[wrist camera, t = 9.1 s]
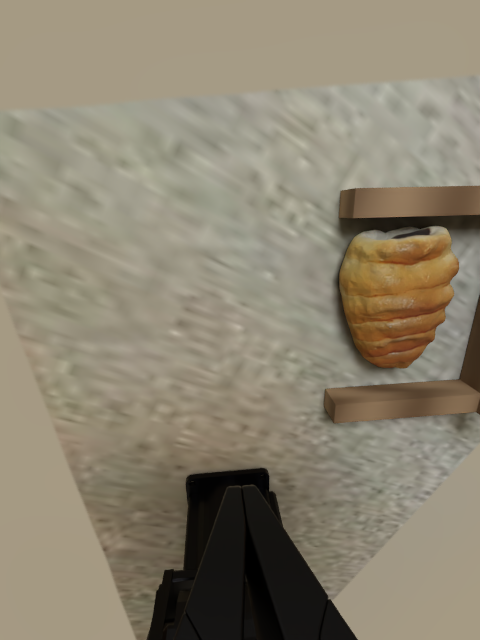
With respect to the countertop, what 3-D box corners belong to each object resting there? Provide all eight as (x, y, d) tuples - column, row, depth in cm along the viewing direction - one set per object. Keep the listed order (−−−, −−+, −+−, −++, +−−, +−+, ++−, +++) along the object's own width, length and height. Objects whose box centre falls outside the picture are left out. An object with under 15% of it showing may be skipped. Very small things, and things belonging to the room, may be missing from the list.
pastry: (425, 350, 23) (465, 377, 19) (336, 365, 23) (359, 394, 19) (435, 218, 20) (485, 219, 16) (331, 234, 19) (358, 239, 16)
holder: (324, 406, 23) (352, 455, 19) (340, 190, 18) (386, 183, 14) (473, 394, 24) (536, 439, 19) (528, 186, 19) (631, 179, 14)
